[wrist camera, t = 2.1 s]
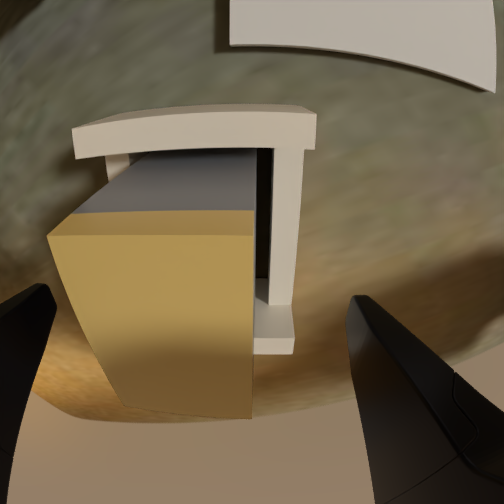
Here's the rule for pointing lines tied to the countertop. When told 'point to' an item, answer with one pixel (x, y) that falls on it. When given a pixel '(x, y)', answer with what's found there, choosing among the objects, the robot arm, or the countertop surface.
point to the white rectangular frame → (227, 136)
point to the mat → (379, 32)
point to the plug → (169, 280)
